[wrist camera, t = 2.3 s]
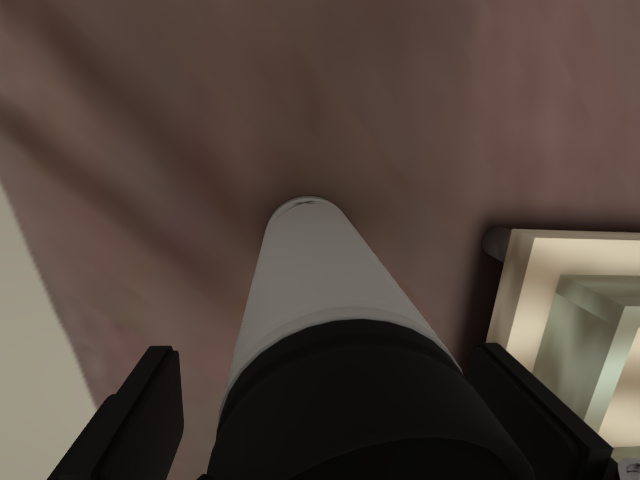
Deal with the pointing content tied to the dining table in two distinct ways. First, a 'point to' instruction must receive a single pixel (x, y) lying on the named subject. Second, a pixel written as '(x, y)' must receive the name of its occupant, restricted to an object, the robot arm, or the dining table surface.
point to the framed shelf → (575, 321)
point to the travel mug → (346, 372)
